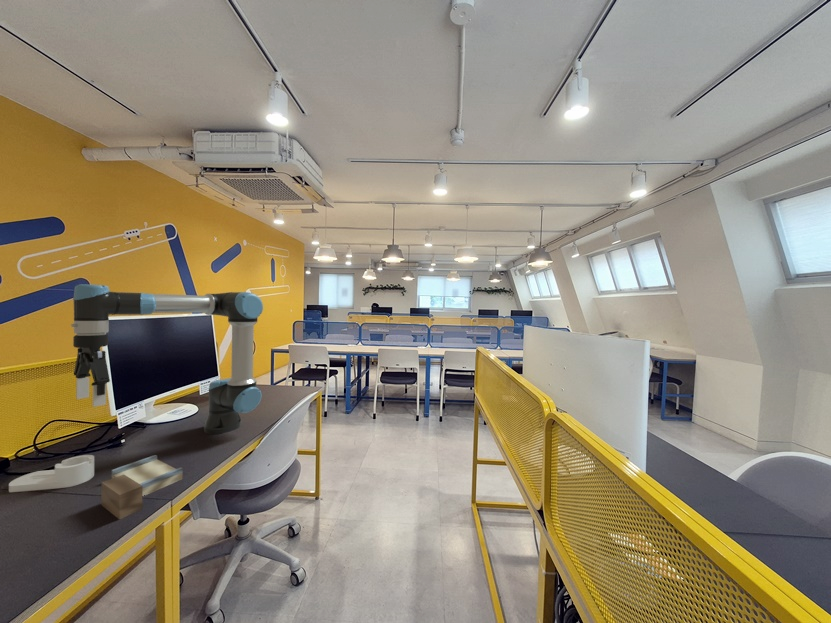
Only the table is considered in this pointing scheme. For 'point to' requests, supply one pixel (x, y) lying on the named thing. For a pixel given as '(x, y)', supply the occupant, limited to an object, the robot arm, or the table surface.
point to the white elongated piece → (57, 475)
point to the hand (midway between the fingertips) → (90, 401)
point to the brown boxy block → (121, 496)
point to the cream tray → (150, 474)
